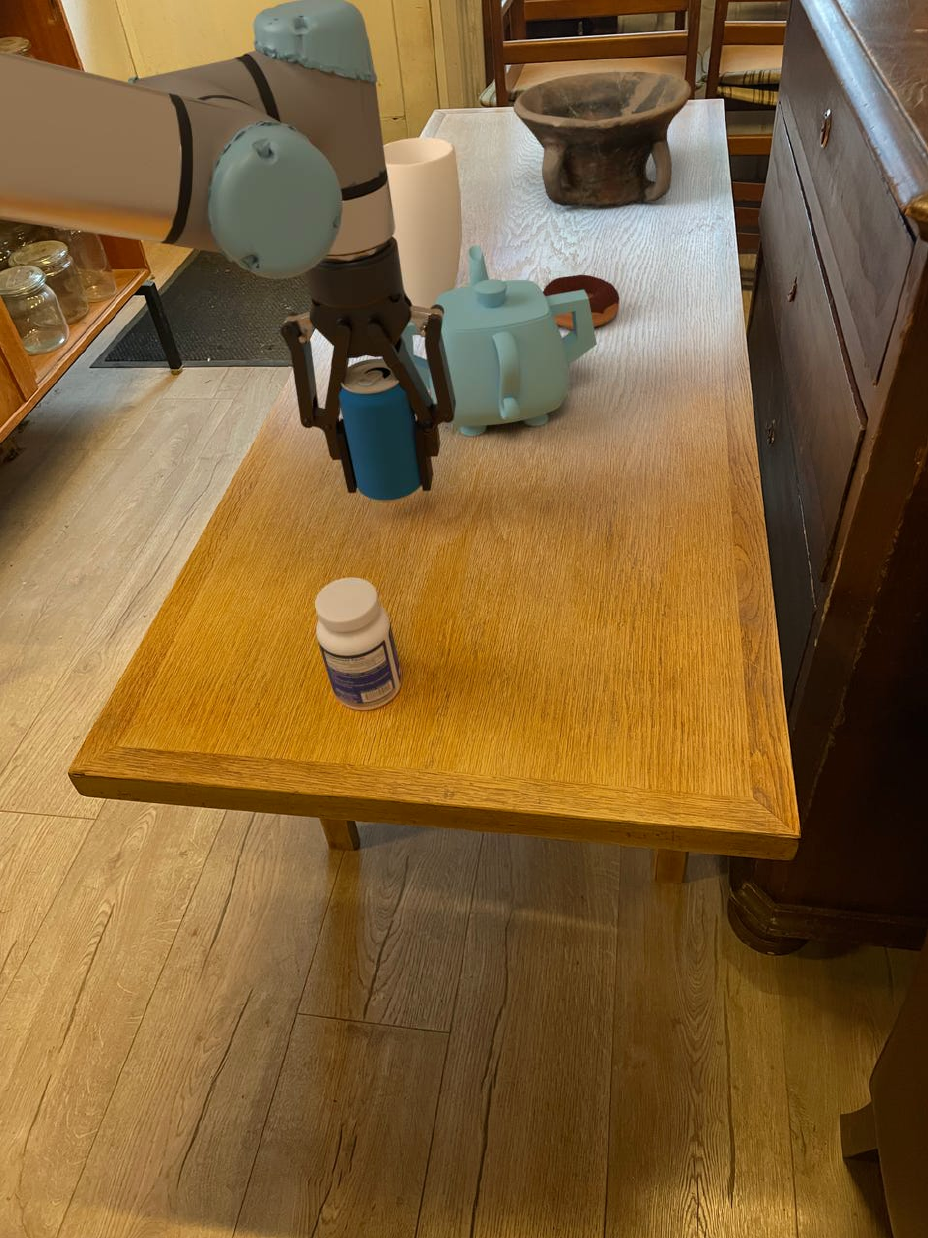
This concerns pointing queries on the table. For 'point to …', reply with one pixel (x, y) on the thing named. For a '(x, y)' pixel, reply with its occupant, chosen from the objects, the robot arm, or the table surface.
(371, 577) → the table surface
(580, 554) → the table surface
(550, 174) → the brown clay pot
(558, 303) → the teapot
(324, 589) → the pill bottle
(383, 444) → the beverage can
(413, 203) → the cup
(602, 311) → the donut
